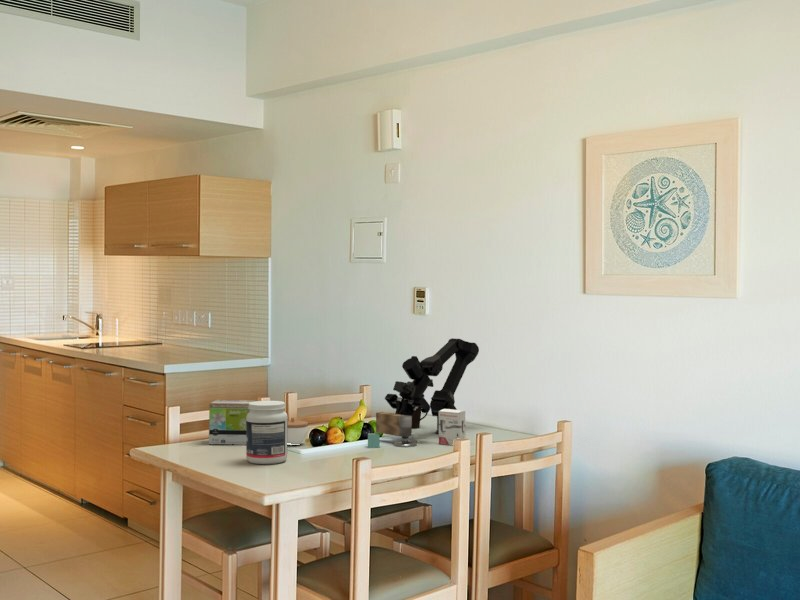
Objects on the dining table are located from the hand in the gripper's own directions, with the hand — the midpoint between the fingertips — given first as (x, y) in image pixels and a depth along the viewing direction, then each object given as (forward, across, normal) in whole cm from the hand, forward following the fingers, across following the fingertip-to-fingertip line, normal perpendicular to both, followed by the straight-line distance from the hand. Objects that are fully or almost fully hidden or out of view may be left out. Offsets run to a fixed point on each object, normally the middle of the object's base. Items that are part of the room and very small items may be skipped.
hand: (395, 421), depth 307 cm
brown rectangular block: (+4, +1, +2) cm, 5 cm away
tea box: (+36, -38, -25) cm, 58 cm away
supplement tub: (+44, -2, -32) cm, 54 cm away
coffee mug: (-14, -18, +24) cm, 33 cm away
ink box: (-3, +17, +14) cm, 22 cm away
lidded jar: (+27, -20, -16) cm, 37 cm away
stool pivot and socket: (+9, +5, +1) cm, 10 cm away
